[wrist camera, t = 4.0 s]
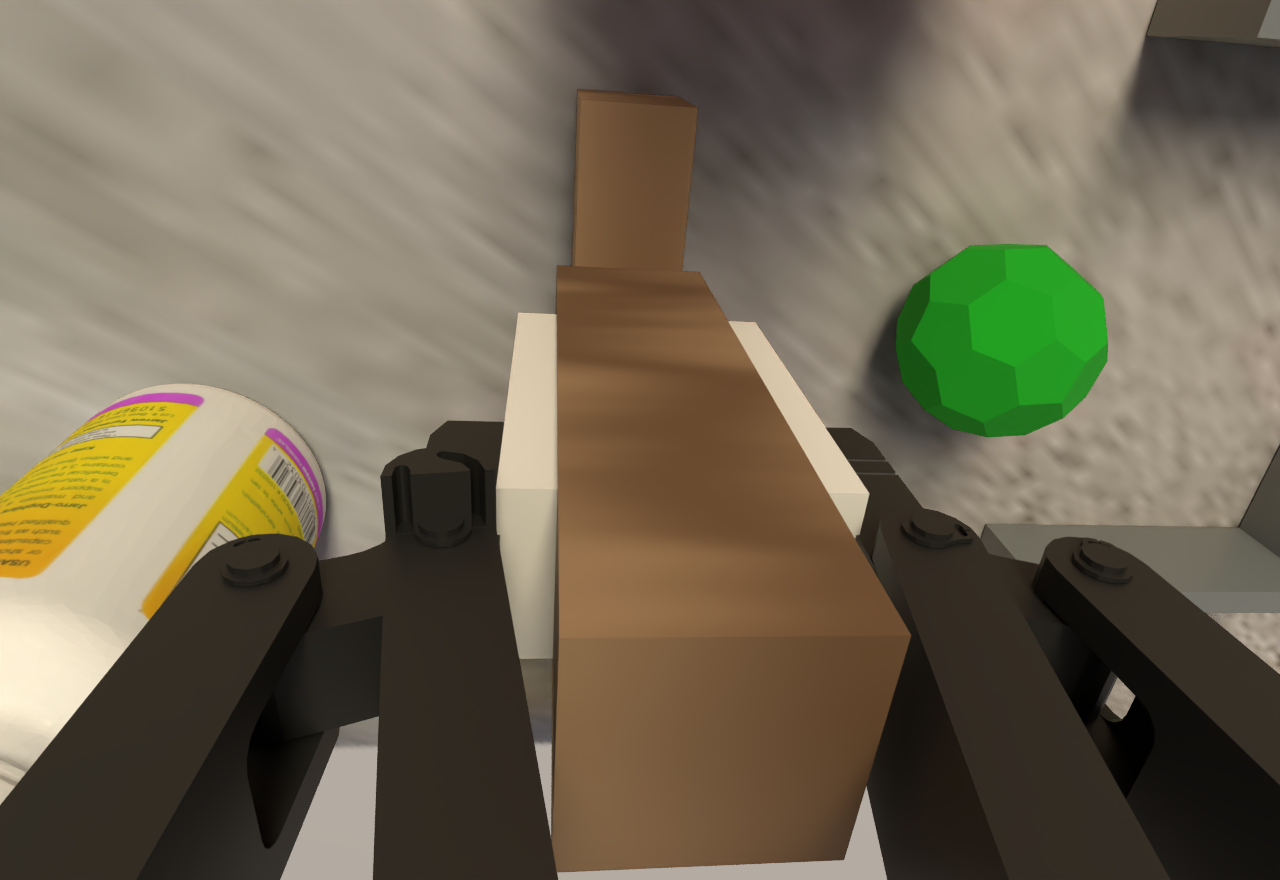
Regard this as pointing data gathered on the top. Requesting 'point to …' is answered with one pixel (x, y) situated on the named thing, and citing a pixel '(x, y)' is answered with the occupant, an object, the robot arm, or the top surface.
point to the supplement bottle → (129, 539)
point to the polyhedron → (1001, 339)
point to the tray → (1276, 520)
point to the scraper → (692, 553)
